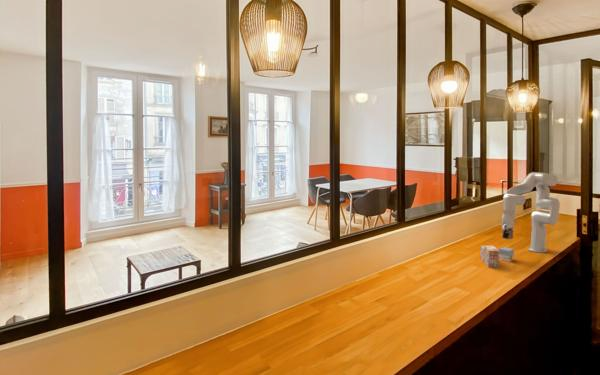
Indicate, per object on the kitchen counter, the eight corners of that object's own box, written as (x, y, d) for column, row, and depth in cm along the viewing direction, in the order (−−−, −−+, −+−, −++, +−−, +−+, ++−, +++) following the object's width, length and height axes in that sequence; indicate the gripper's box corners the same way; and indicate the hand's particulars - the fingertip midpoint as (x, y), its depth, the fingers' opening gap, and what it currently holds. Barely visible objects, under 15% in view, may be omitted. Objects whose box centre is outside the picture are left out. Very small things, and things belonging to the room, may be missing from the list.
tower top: (503, 252, 281) (504, 247, 280) (513, 254, 275) (513, 249, 274) (498, 254, 277) (499, 248, 276) (508, 256, 271) (508, 251, 270)
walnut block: (505, 236, 277) (506, 228, 276) (512, 238, 273) (513, 230, 272) (502, 237, 274) (502, 229, 274) (509, 239, 270) (509, 231, 269)
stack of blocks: (479, 258, 280) (480, 241, 279) (488, 258, 279) (489, 242, 278) (488, 267, 259) (489, 250, 258) (498, 268, 258) (499, 250, 257)
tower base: (503, 257, 281) (503, 252, 280) (513, 260, 275) (513, 254, 275) (498, 259, 277) (499, 254, 276) (508, 262, 271) (508, 256, 271)
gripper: (509, 210, 279) (508, 234, 282) (497, 213, 270) (496, 238, 272) (520, 212, 273) (518, 236, 275) (508, 214, 264) (506, 240, 266)
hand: (507, 237), depth 274 cm, fingers closed on walnut block, 5 cm apart
